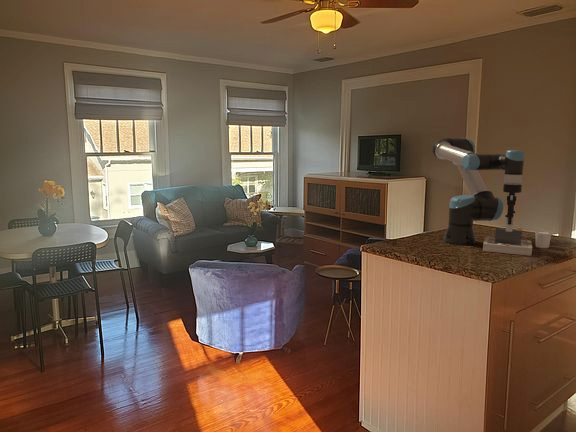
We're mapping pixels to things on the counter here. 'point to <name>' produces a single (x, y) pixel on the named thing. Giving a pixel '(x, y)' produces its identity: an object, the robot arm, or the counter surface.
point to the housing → (508, 247)
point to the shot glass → (542, 239)
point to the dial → (508, 237)
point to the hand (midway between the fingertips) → (509, 229)
